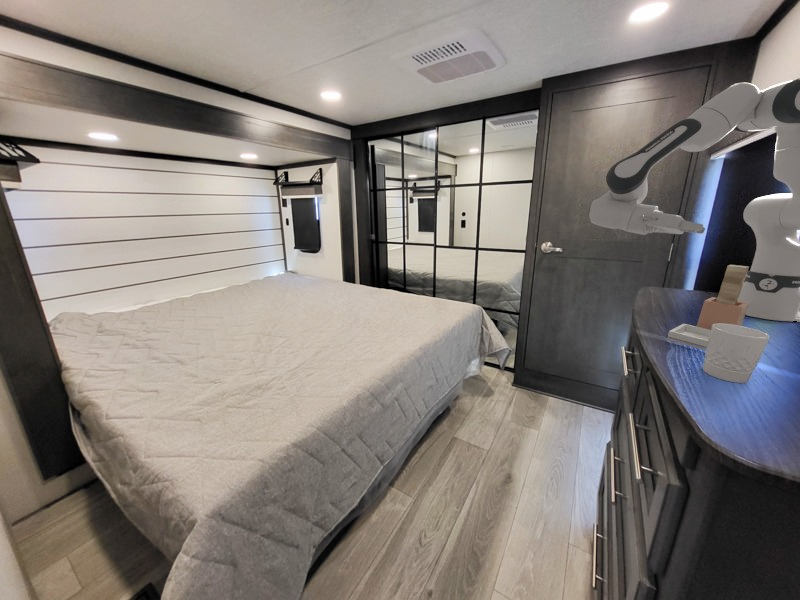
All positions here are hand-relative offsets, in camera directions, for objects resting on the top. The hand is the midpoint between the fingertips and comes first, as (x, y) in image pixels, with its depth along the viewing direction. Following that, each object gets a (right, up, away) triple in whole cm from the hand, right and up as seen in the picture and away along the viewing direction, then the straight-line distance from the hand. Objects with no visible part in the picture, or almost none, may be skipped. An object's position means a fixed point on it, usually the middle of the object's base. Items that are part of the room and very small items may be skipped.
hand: (703, 229), depth 86 cm
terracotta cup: (+5, -29, +1) cm, 29 cm away
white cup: (-18, -36, -22) cm, 46 cm away
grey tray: (-7, -31, -6) cm, 32 cm away
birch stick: (+5, -28, +1) cm, 28 cm away
